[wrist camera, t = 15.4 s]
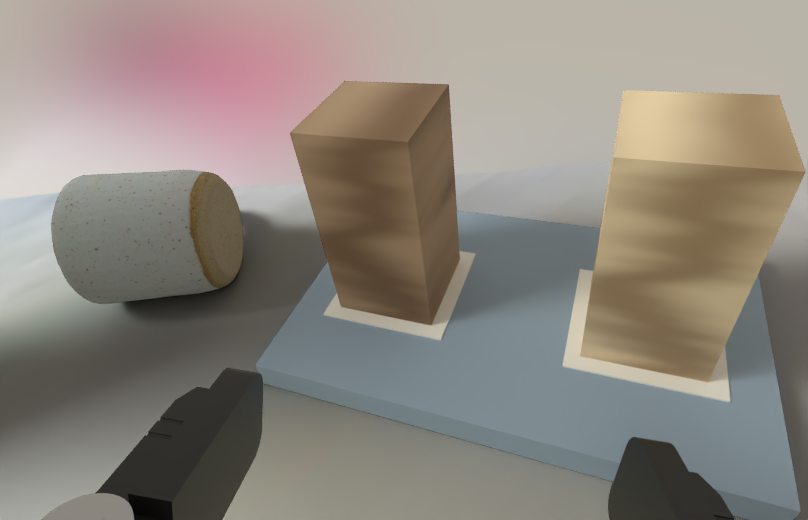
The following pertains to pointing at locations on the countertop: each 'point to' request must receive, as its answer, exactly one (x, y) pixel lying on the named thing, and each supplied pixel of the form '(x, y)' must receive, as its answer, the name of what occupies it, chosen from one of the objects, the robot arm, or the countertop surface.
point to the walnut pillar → (384, 194)
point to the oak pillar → (686, 226)
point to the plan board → (543, 369)
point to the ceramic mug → (147, 235)
